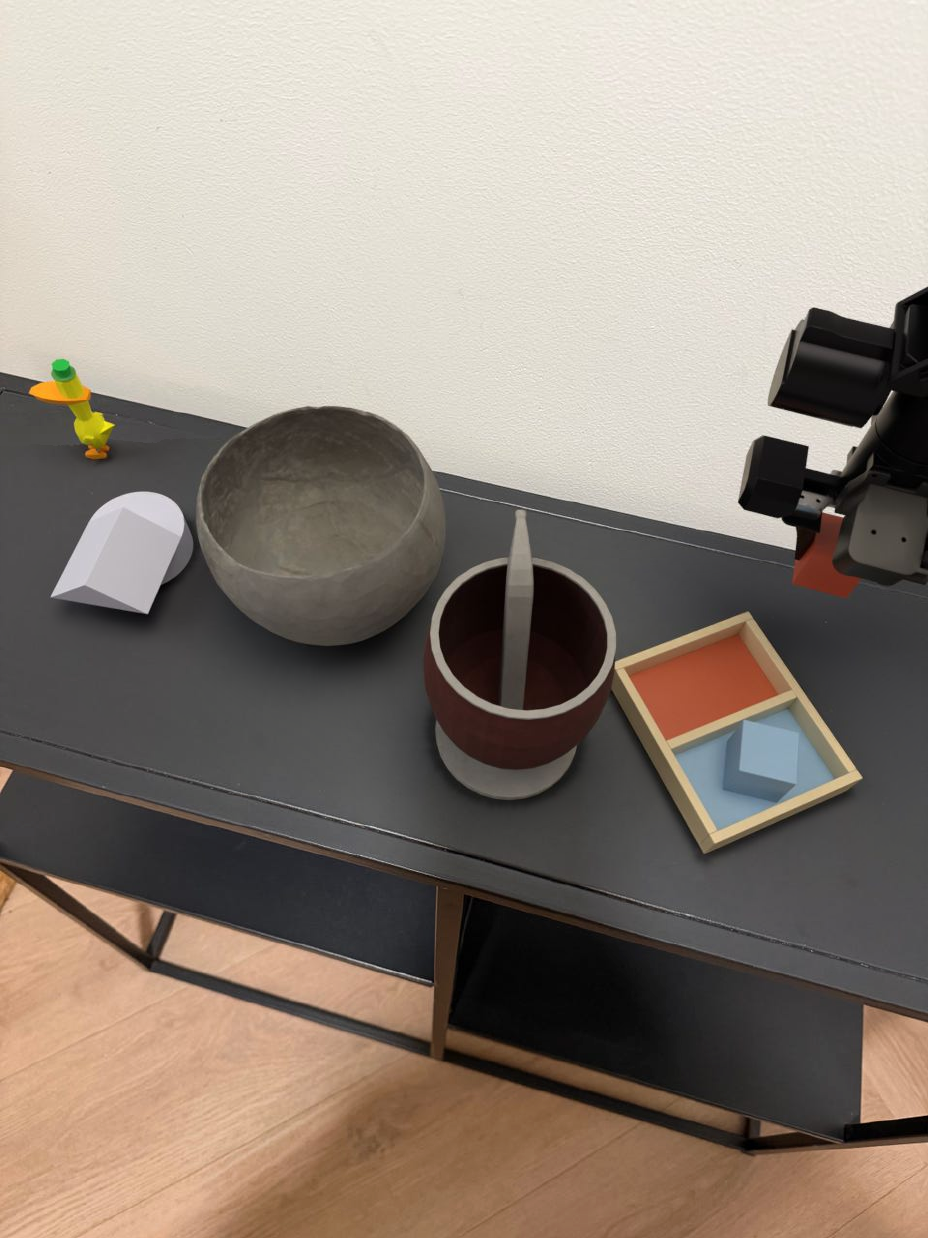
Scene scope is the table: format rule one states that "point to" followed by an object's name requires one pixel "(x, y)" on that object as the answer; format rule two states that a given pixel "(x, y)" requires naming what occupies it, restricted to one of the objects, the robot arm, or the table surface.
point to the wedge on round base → (127, 553)
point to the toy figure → (76, 407)
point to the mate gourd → (517, 671)
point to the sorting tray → (725, 726)
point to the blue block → (761, 761)
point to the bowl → (322, 524)
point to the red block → (823, 562)
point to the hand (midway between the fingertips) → (825, 563)
